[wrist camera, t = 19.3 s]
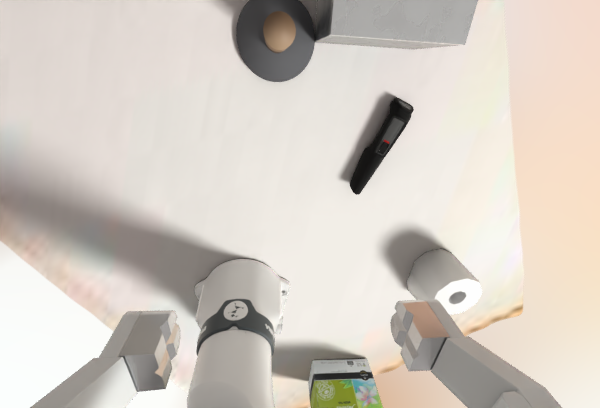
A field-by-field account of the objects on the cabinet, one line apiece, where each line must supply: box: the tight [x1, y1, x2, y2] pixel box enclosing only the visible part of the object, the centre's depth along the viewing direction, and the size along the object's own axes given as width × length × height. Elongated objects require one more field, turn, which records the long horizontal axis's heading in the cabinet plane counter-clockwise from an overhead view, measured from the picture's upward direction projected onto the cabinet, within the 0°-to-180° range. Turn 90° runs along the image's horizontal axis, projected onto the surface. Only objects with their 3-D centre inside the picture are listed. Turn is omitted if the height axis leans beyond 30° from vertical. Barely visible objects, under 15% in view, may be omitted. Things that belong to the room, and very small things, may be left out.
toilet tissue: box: [407, 249, 483, 315], centre depth 54 cm, size 9×13×9 cm
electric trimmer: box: [350, 97, 414, 194], centre depth 42 cm, size 4×16×3 cm, turn 154°
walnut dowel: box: [263, 11, 296, 53], centre depth 30 cm, size 3×3×11 cm
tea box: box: [308, 358, 383, 408], centre depth 65 cm, size 15×10×15 cm
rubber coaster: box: [236, 0, 315, 82], centre depth 35 cm, size 10×10×1 cm
